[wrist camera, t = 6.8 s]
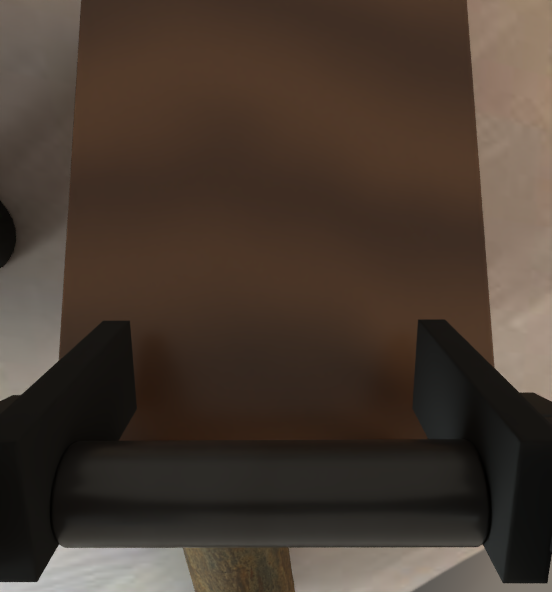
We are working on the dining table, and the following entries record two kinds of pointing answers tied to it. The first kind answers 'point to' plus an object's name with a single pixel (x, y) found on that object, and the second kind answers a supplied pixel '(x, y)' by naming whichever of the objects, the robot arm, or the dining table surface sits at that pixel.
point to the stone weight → (240, 569)
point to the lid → (274, 271)
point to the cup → (6, 235)
